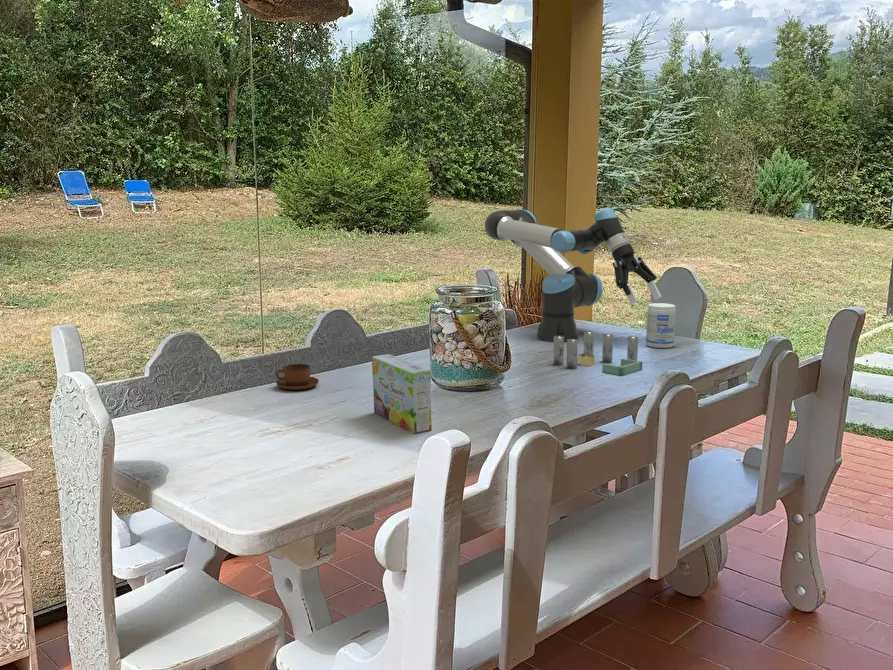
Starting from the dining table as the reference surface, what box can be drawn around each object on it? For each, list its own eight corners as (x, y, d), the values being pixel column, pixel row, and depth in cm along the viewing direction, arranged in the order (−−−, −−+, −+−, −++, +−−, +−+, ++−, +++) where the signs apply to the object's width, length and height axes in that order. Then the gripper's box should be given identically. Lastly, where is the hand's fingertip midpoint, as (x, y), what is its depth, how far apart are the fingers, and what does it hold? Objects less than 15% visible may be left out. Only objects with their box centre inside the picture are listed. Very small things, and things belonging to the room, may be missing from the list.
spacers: (549, 364, 270) (549, 337, 269) (585, 355, 284) (585, 328, 283) (604, 375, 256) (605, 345, 255) (639, 364, 270) (640, 336, 268)
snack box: (371, 413, 216) (370, 355, 214) (391, 410, 219) (390, 353, 217) (412, 434, 199) (412, 372, 196) (433, 430, 202) (432, 369, 199)
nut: (587, 366, 268) (587, 357, 267) (575, 364, 271) (575, 355, 270) (596, 364, 271) (596, 354, 271) (584, 362, 274) (585, 352, 274)
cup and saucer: (278, 394, 236) (277, 372, 235) (274, 384, 247) (274, 363, 246) (321, 391, 239) (320, 370, 238) (316, 381, 251) (315, 361, 249)
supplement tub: (658, 349, 293) (660, 307, 290) (640, 345, 301) (641, 304, 298) (679, 347, 297) (681, 305, 294) (661, 342, 305) (662, 302, 303)
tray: (602, 372, 260) (602, 364, 260) (622, 366, 268) (622, 358, 268) (621, 375, 255) (622, 367, 255) (642, 369, 263) (642, 361, 263)
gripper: (605, 245, 293) (631, 299, 288) (649, 240, 309) (675, 291, 304) (591, 256, 299) (616, 309, 293) (635, 250, 314) (660, 301, 309)
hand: (646, 300), depth 298 cm, fingers open, 13 cm apart
